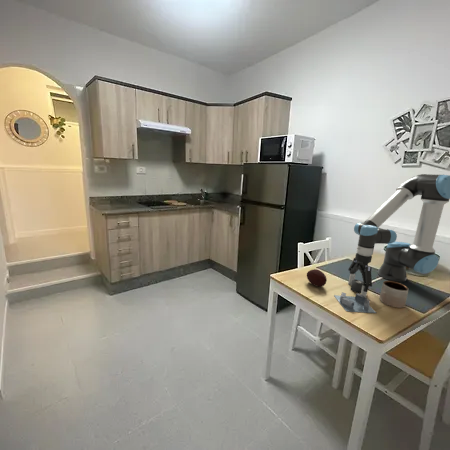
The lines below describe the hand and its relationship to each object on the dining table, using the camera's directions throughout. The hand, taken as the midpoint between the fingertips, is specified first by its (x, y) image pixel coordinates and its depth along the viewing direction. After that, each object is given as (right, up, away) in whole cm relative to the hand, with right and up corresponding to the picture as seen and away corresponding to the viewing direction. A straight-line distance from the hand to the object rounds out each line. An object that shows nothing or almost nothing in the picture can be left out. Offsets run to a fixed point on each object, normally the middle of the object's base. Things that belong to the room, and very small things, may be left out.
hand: (356, 290), depth 132 cm
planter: (+12, -4, -11) cm, 16 cm away
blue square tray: (-9, -3, -14) cm, 17 cm away
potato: (-22, +2, +4) cm, 22 cm away
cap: (0, 0, 0) cm, 0 cm away
